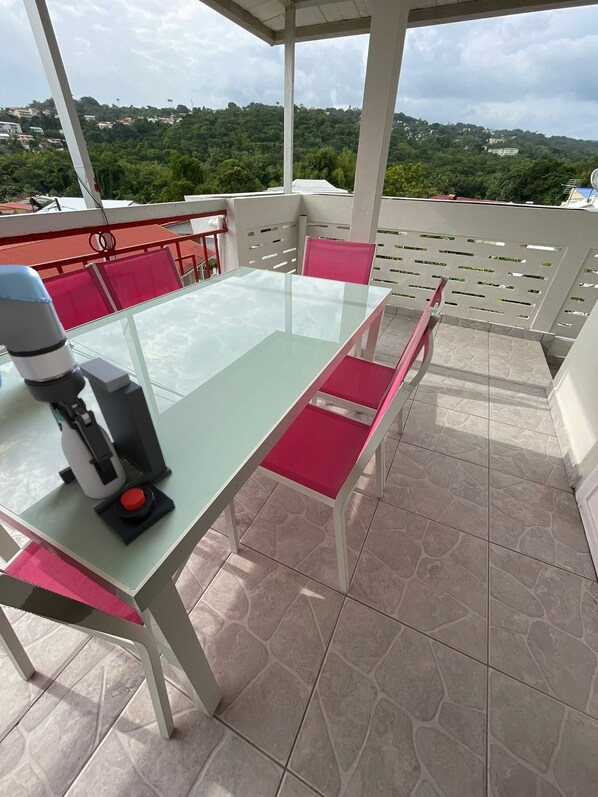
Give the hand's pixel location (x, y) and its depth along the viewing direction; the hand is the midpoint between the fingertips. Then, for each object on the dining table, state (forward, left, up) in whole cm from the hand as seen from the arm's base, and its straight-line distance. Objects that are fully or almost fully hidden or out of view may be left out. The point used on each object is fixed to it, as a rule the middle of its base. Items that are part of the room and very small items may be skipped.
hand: (99, 470), depth 65 cm
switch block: (0, -12, -4) cm, 13 cm away
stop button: (0, -12, -1) cm, 12 cm away
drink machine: (+3, 0, -4) cm, 5 cm away
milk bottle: (0, 0, -4) cm, 4 cm away
